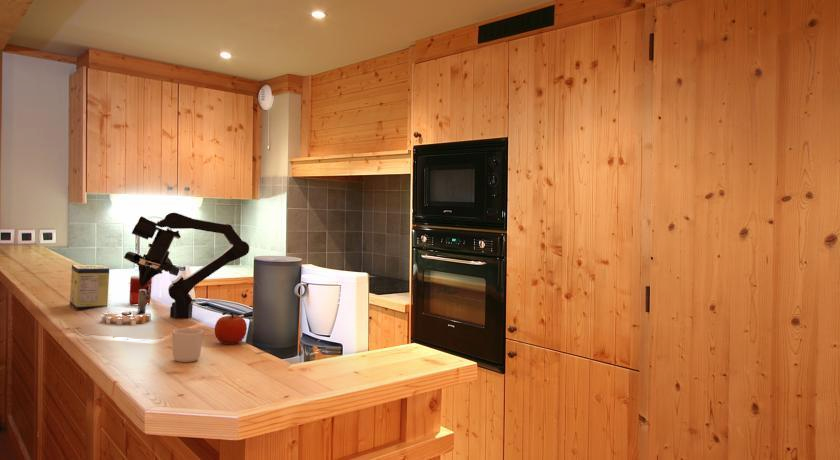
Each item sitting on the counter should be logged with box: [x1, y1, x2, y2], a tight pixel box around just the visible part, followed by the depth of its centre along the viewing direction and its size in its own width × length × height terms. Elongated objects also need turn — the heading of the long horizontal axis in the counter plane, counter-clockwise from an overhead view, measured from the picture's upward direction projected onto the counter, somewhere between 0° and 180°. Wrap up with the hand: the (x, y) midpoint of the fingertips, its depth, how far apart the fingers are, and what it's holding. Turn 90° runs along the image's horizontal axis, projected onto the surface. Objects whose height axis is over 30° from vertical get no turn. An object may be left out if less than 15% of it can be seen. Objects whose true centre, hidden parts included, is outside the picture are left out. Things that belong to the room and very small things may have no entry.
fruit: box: [214, 310, 248, 345], centre depth 178 cm, size 10×10×10 cm
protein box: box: [69, 264, 110, 311], centre depth 221 cm, size 10×16×16 cm
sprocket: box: [100, 290, 152, 326], centre depth 196 cm, size 15×15×10 cm
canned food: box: [128, 275, 153, 305], centre depth 236 cm, size 8×8×11 cm
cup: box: [171, 327, 205, 363], centre depth 157 cm, size 11×8×8 cm
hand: (140, 286), depth 199 cm, fingers closed
